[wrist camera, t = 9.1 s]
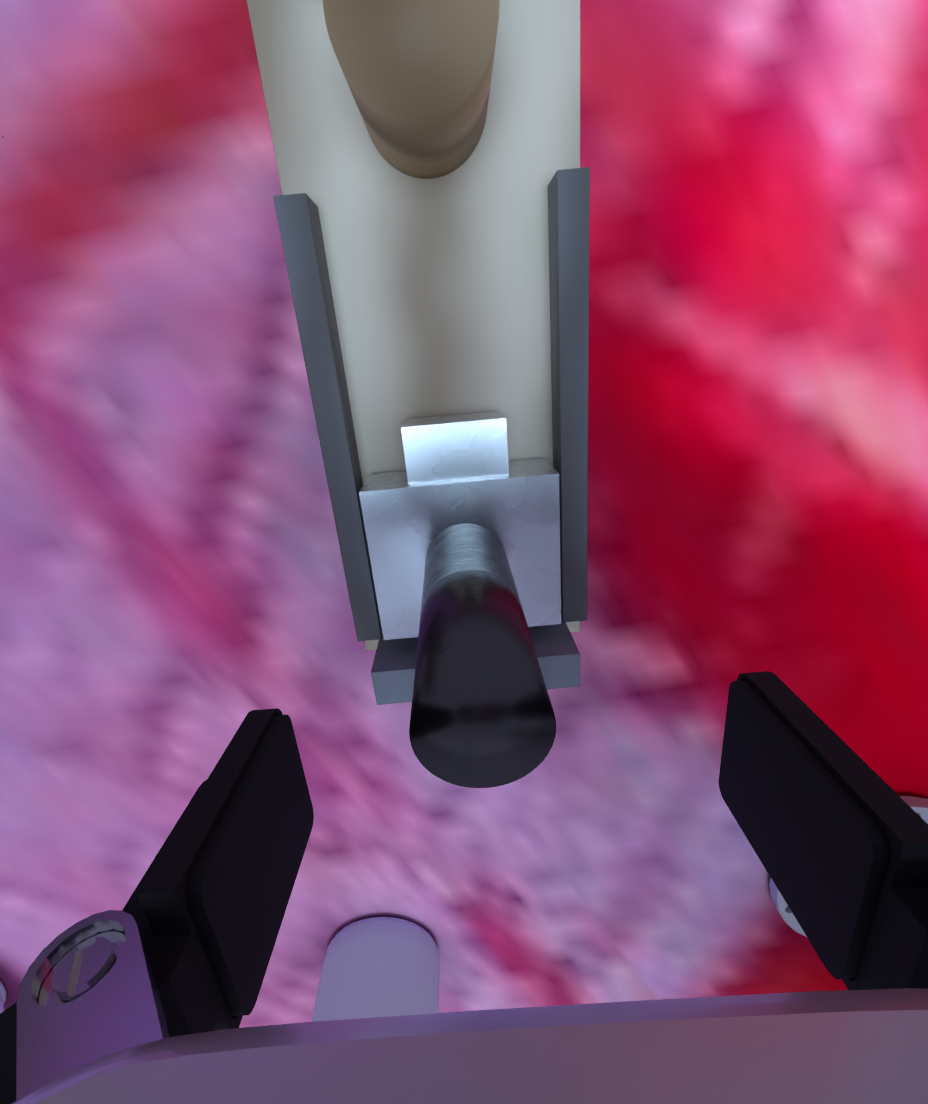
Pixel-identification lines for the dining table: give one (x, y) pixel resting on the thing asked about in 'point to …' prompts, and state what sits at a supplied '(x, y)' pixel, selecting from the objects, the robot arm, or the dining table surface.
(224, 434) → the dining table surface
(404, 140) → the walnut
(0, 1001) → the lidded bowl
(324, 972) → the milk bottle
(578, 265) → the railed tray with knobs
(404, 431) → the ram
